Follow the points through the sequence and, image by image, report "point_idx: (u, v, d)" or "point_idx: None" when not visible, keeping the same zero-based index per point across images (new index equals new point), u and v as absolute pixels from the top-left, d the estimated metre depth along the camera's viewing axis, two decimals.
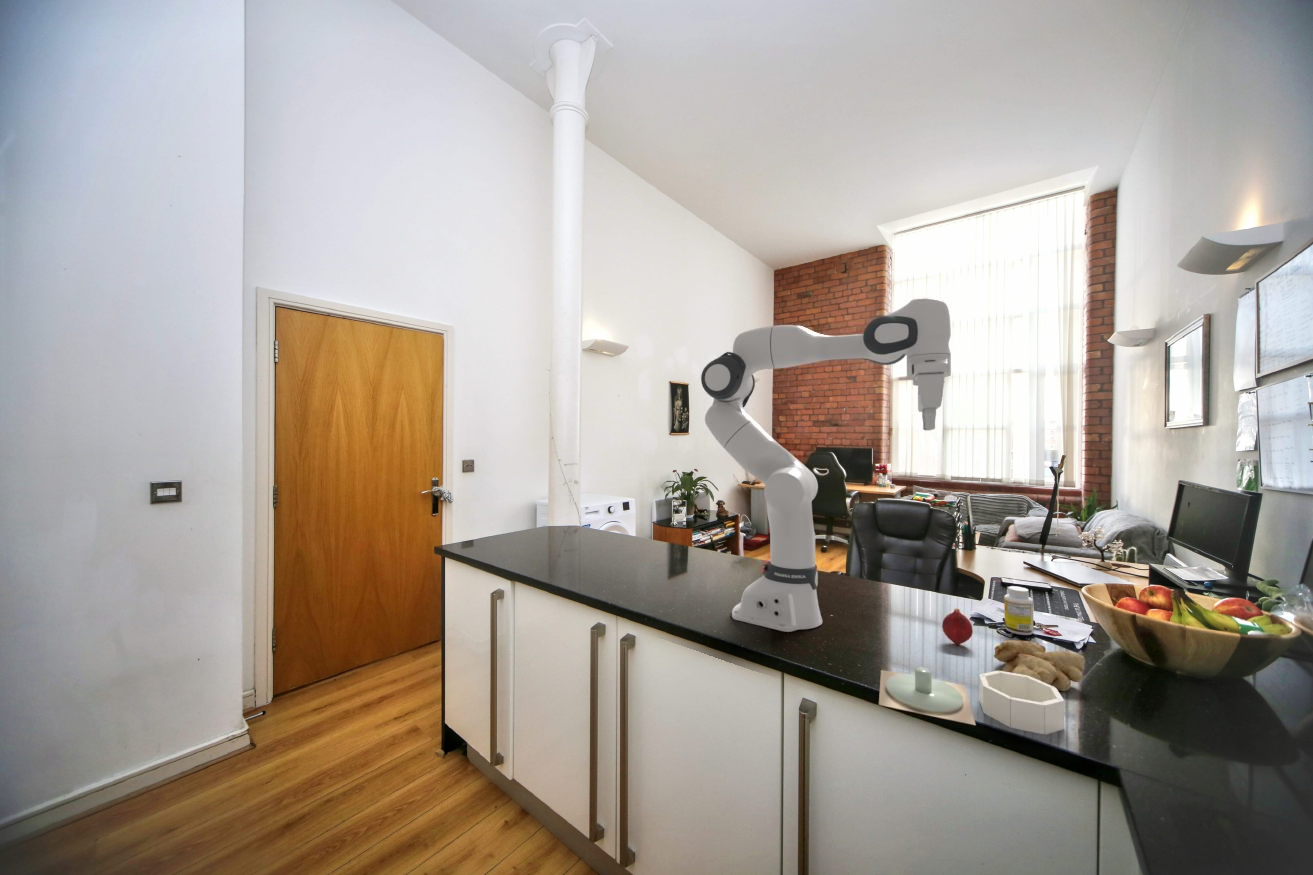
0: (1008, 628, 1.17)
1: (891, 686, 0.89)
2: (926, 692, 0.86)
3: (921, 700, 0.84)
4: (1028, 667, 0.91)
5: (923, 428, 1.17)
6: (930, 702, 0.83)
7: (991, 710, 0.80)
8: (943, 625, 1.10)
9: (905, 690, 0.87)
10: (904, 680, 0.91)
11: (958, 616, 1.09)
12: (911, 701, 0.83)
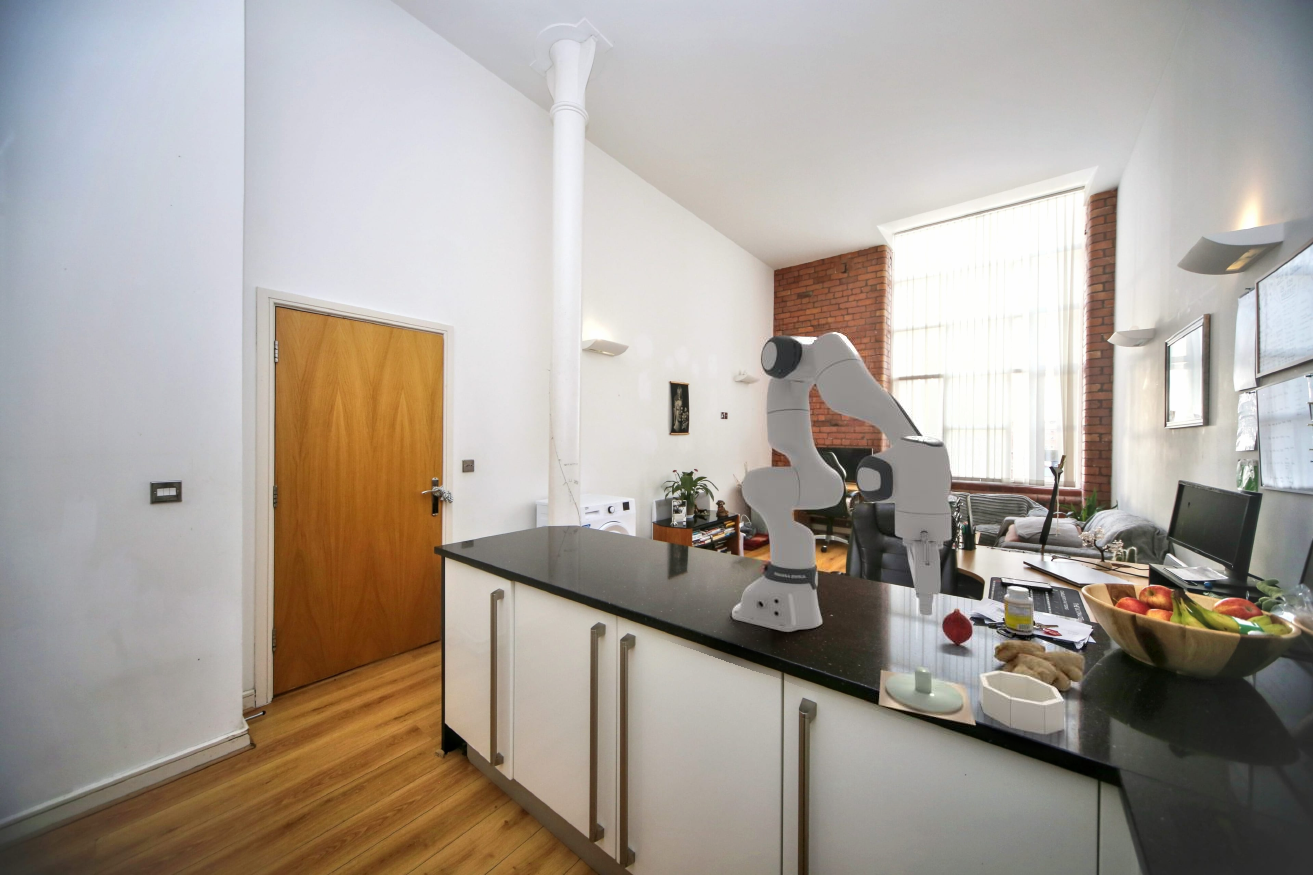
0: (1008, 628, 1.17)
1: (891, 686, 0.89)
2: (926, 692, 0.86)
3: (921, 700, 0.84)
4: (1028, 667, 0.91)
5: None
6: (930, 702, 0.83)
7: (991, 710, 0.80)
8: (943, 625, 1.10)
9: (905, 690, 0.87)
10: (904, 680, 0.91)
11: (958, 616, 1.09)
12: (911, 701, 0.83)
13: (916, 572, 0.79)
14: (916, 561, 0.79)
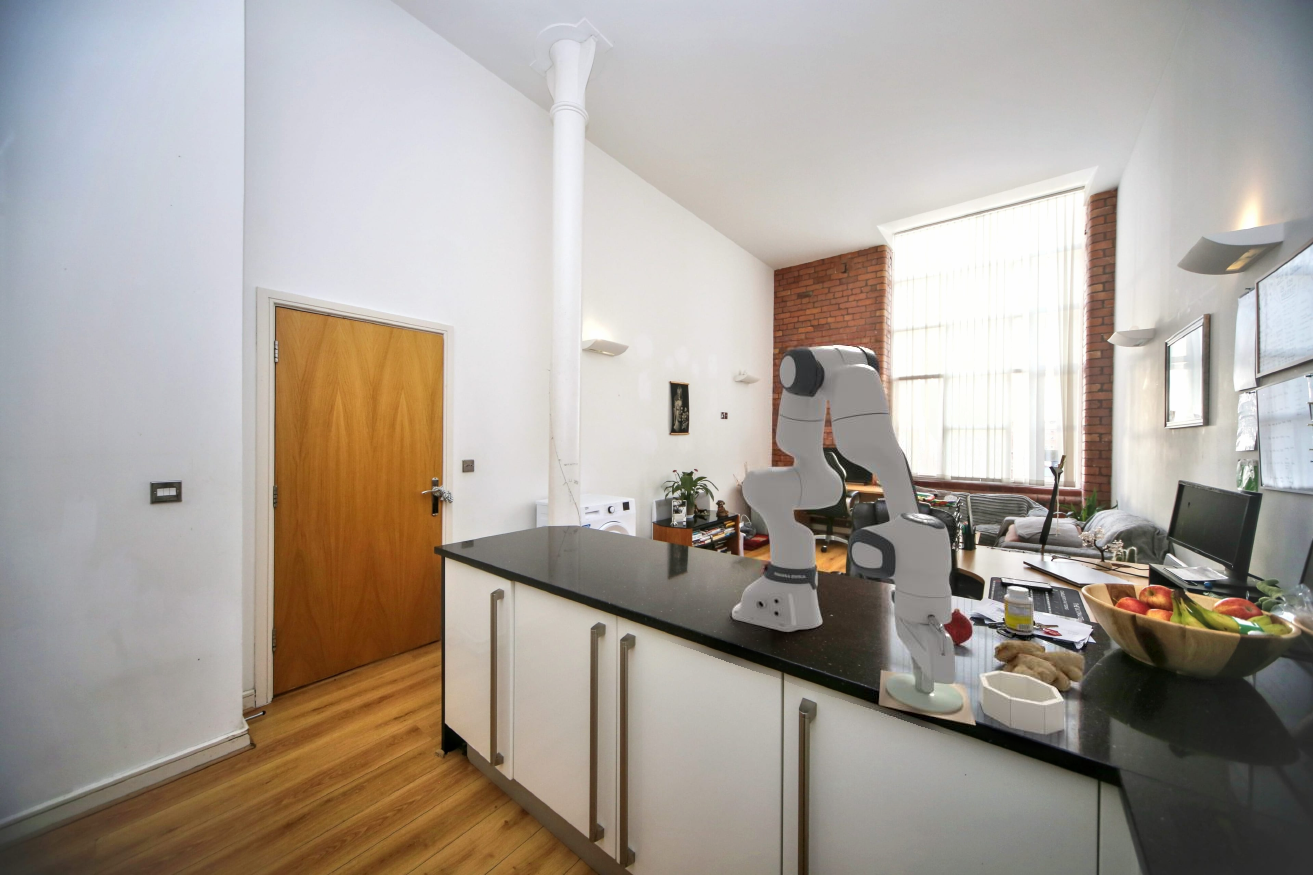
0: (1008, 628, 1.17)
1: (891, 686, 0.89)
2: (926, 692, 0.86)
3: (921, 700, 0.84)
4: (1028, 667, 0.91)
5: None
6: (930, 702, 0.83)
7: (991, 710, 0.80)
8: (943, 625, 1.10)
9: (905, 690, 0.87)
10: (904, 680, 0.91)
11: (958, 616, 1.09)
12: (911, 701, 0.83)
13: (932, 663, 0.78)
14: (932, 651, 0.78)
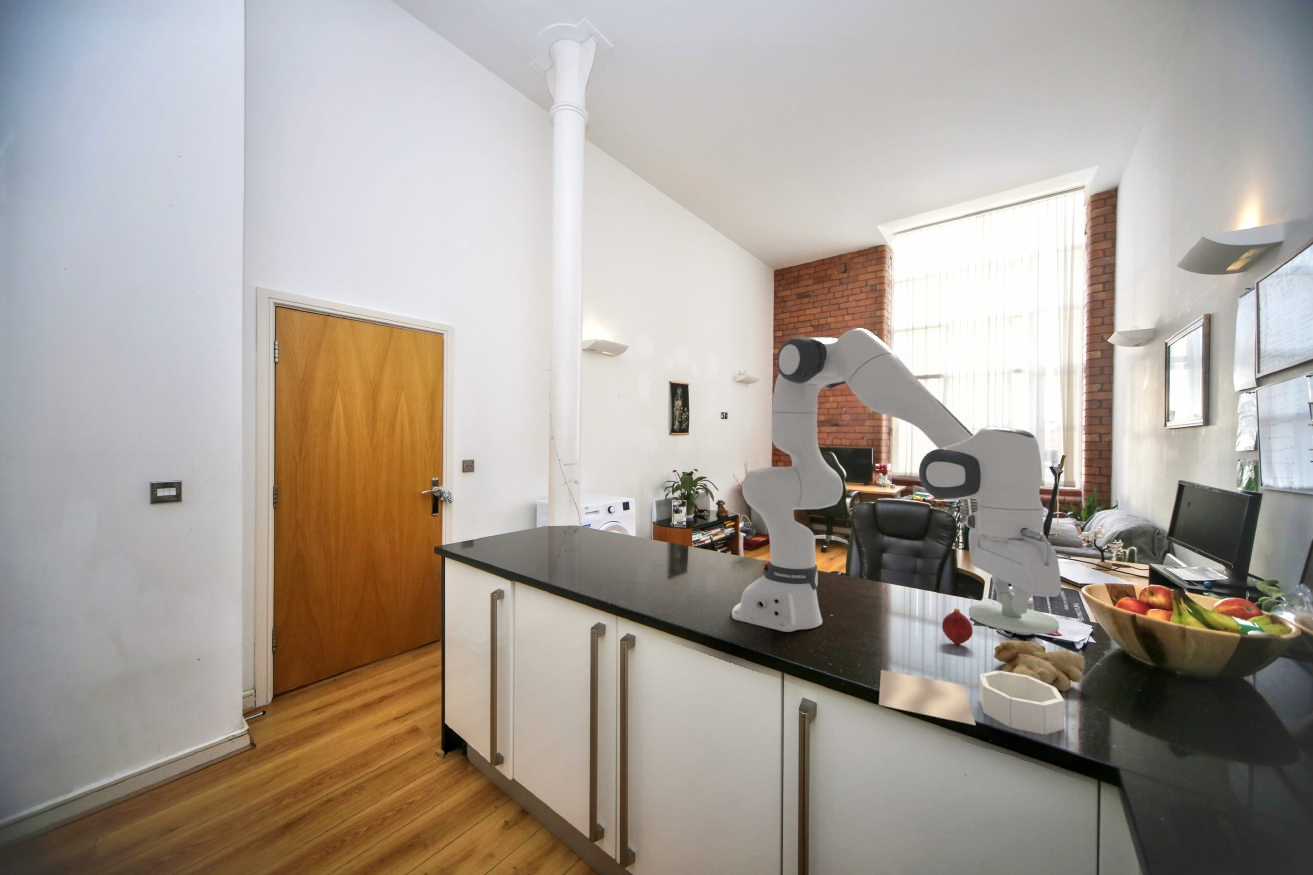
0: None
1: (976, 613, 0.82)
2: (1016, 616, 0.80)
3: (1015, 623, 0.78)
4: (1028, 667, 0.91)
5: None
6: (1025, 624, 0.77)
7: (991, 710, 0.80)
8: (943, 625, 1.10)
9: (993, 615, 0.81)
10: (987, 608, 0.85)
11: (958, 616, 1.09)
12: (1005, 624, 0.77)
13: (1035, 574, 0.72)
14: (1034, 562, 0.72)
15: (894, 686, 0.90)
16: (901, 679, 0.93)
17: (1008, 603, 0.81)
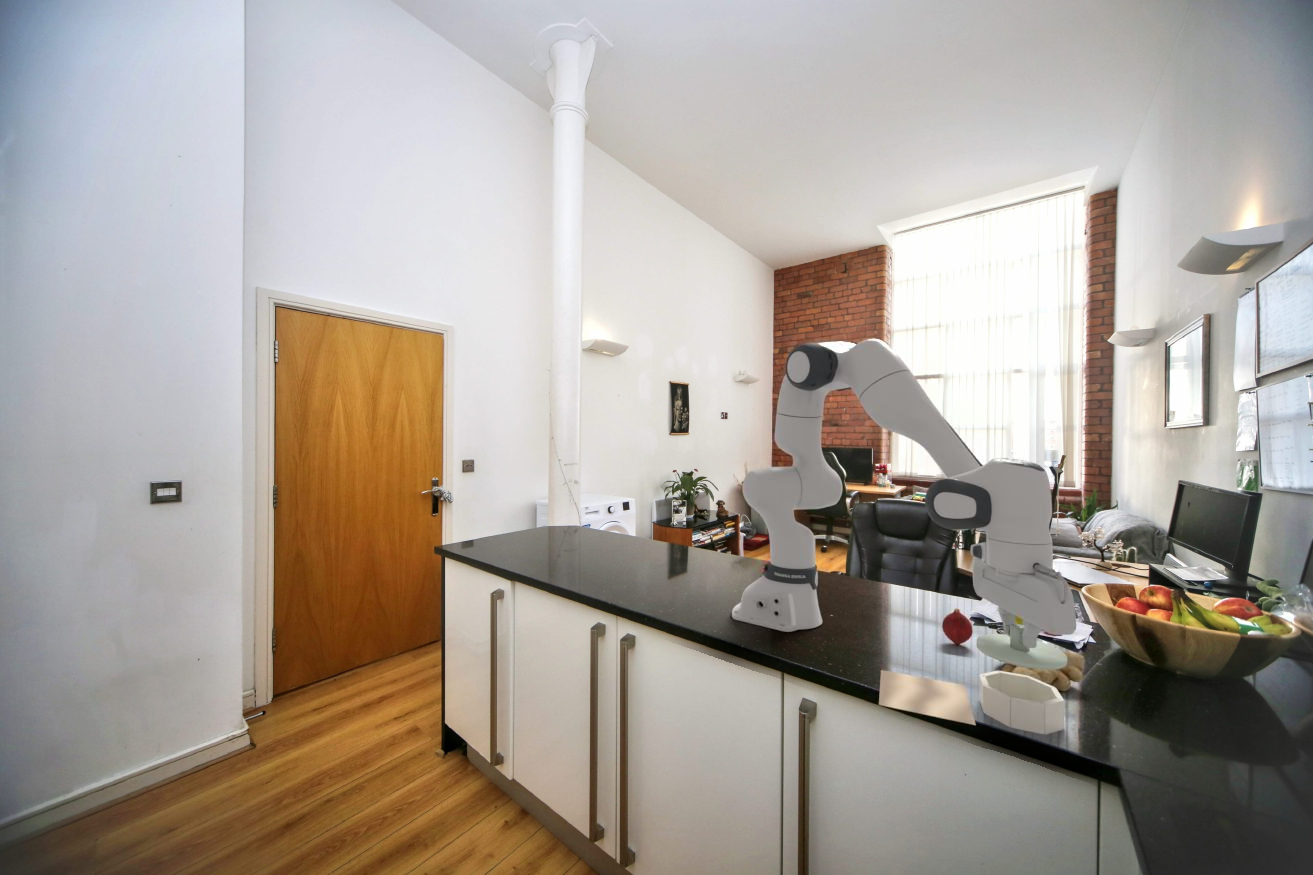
0: None
1: (986, 646, 0.82)
2: (1025, 650, 0.80)
3: (1026, 658, 0.77)
4: None
5: None
6: (1036, 659, 0.77)
7: (991, 710, 0.80)
8: (943, 625, 1.10)
9: (1002, 649, 0.81)
10: (994, 640, 0.84)
11: (958, 616, 1.09)
12: (1017, 659, 0.77)
13: (1052, 612, 0.71)
14: (1050, 600, 0.72)
15: (894, 686, 0.90)
16: (901, 679, 0.93)
17: (1017, 636, 0.80)
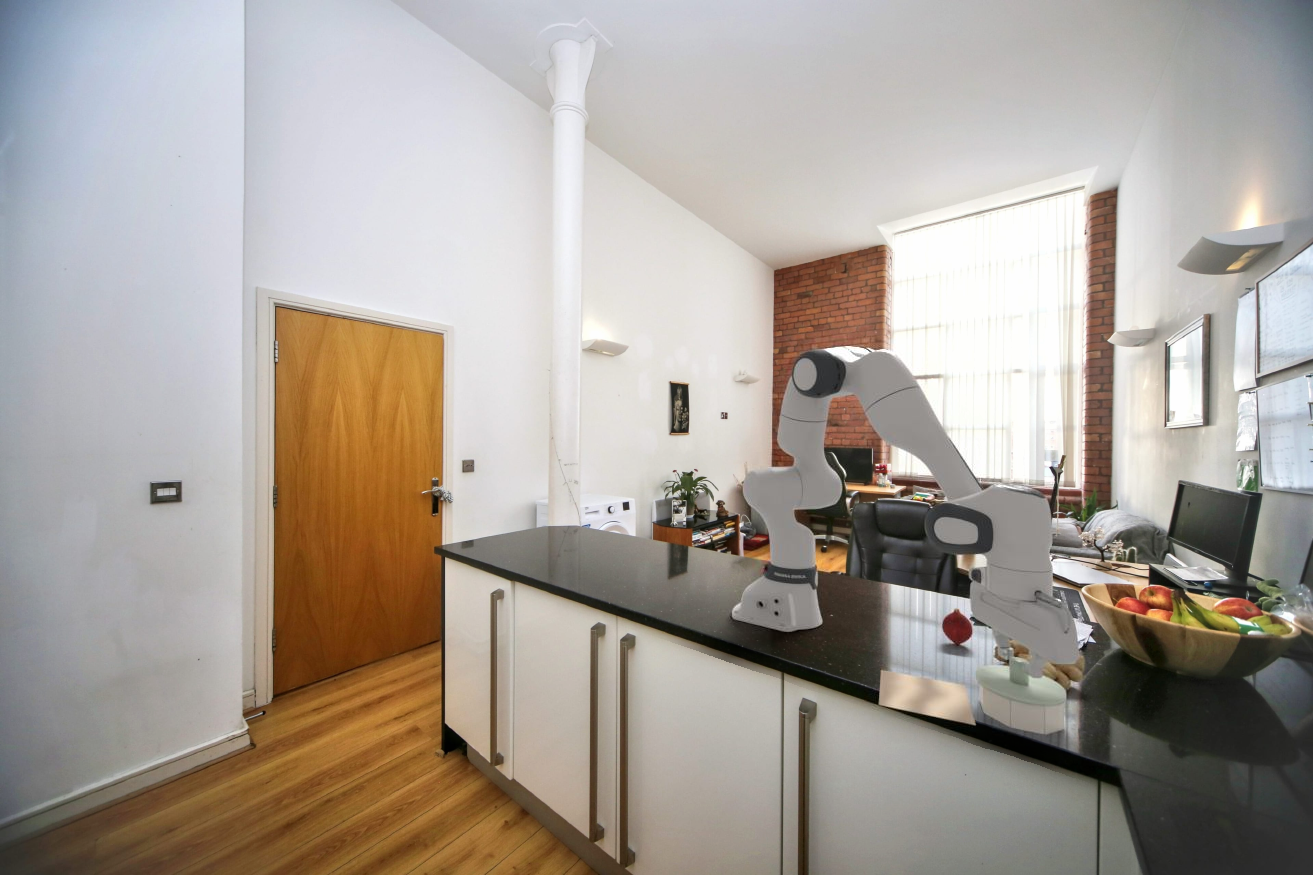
0: None
1: (986, 680, 0.82)
2: (1025, 684, 0.80)
3: (1027, 693, 0.77)
4: None
5: None
6: (1037, 694, 0.77)
7: (991, 710, 0.80)
8: (943, 625, 1.10)
9: (1002, 683, 0.81)
10: (992, 672, 0.84)
11: (958, 616, 1.09)
12: (1018, 695, 0.77)
13: (1055, 642, 0.71)
14: (1054, 630, 0.72)
15: (894, 686, 0.90)
16: (901, 679, 0.93)
17: (1017, 670, 0.80)
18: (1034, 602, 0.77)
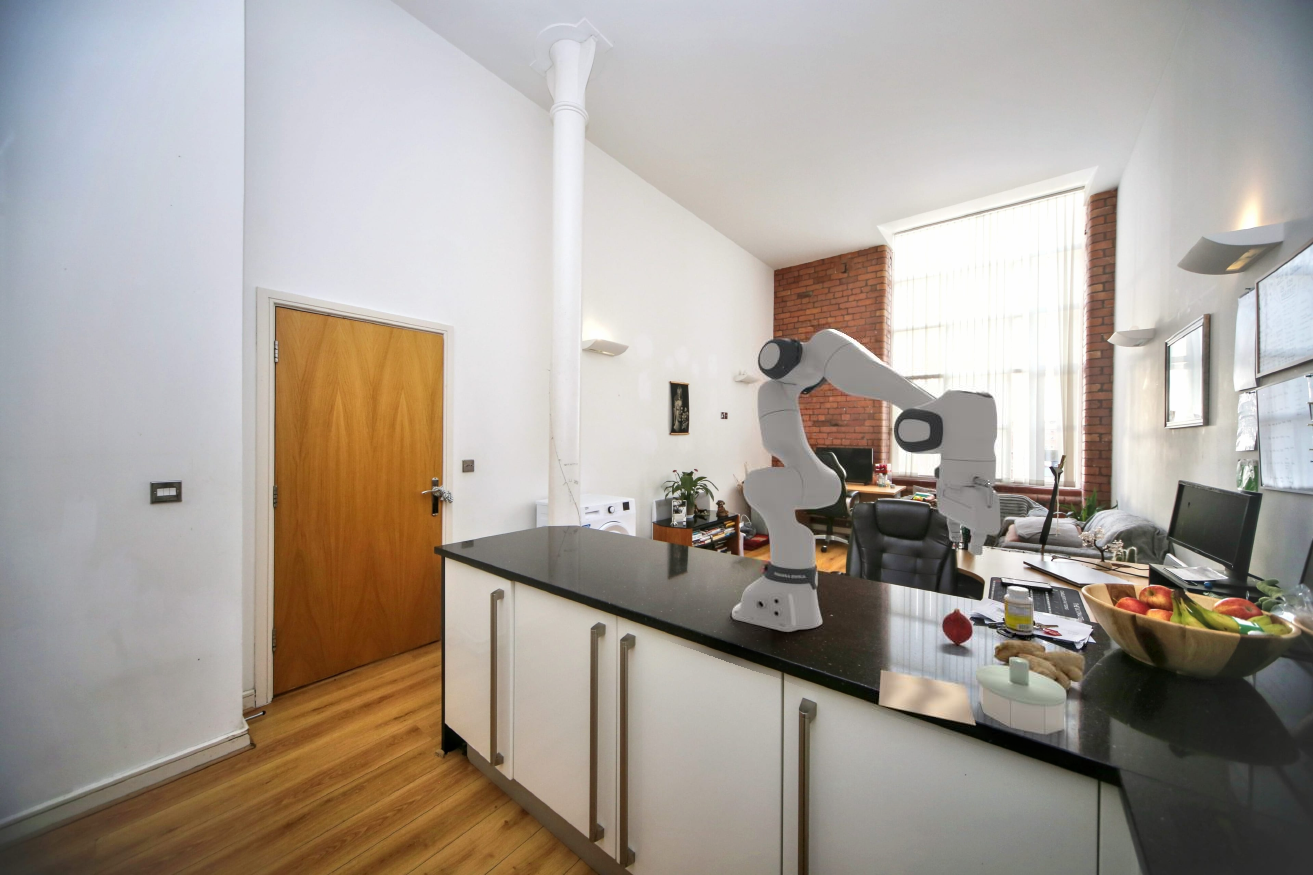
0: (1008, 628, 1.17)
1: (986, 680, 0.82)
2: (1025, 684, 0.80)
3: (1027, 693, 0.77)
4: None
5: None
6: (1037, 694, 0.77)
7: (991, 710, 0.80)
8: (943, 625, 1.10)
9: (1002, 683, 0.81)
10: (992, 672, 0.84)
11: (958, 616, 1.09)
12: (1018, 695, 0.77)
13: (978, 514, 0.84)
14: (978, 504, 0.84)
15: (894, 686, 0.90)
16: (901, 679, 0.93)
17: (1017, 670, 0.80)
18: (972, 487, 0.88)
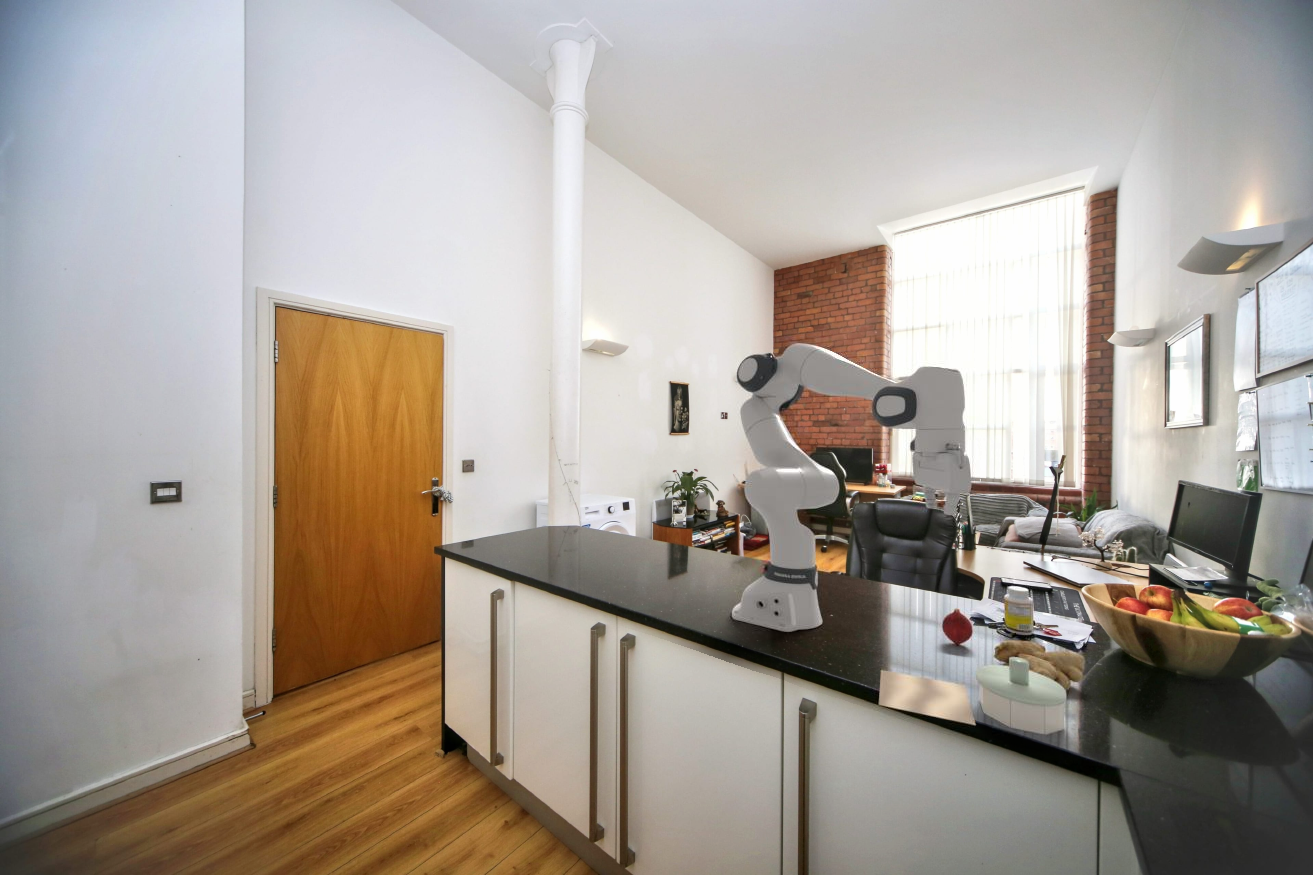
0: (1008, 628, 1.17)
1: (986, 680, 0.82)
2: (1025, 684, 0.80)
3: (1027, 693, 0.77)
4: None
5: None
6: (1037, 694, 0.77)
7: (991, 710, 0.80)
8: (943, 625, 1.10)
9: (1002, 683, 0.81)
10: (992, 672, 0.84)
11: (958, 616, 1.09)
12: (1018, 695, 0.77)
13: (952, 475, 0.92)
14: (951, 466, 0.92)
15: (894, 686, 0.90)
16: (901, 679, 0.93)
17: (1017, 670, 0.80)
18: (945, 453, 0.97)
